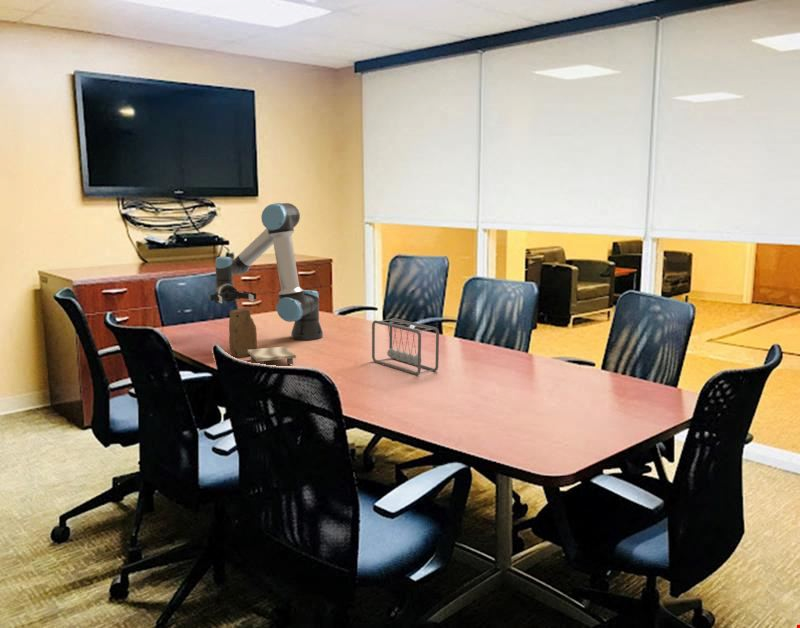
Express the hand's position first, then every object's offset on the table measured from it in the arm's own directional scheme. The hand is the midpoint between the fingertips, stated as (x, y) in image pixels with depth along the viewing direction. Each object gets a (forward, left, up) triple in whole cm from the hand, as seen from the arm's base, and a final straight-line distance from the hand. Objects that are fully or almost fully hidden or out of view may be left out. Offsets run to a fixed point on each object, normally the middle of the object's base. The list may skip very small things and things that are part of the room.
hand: (237, 299), depth 300 cm
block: (0, +10, -23) cm, 25 cm away
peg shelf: (-8, +27, -23) cm, 36 cm away
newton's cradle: (-56, +54, -23) cm, 81 cm away
